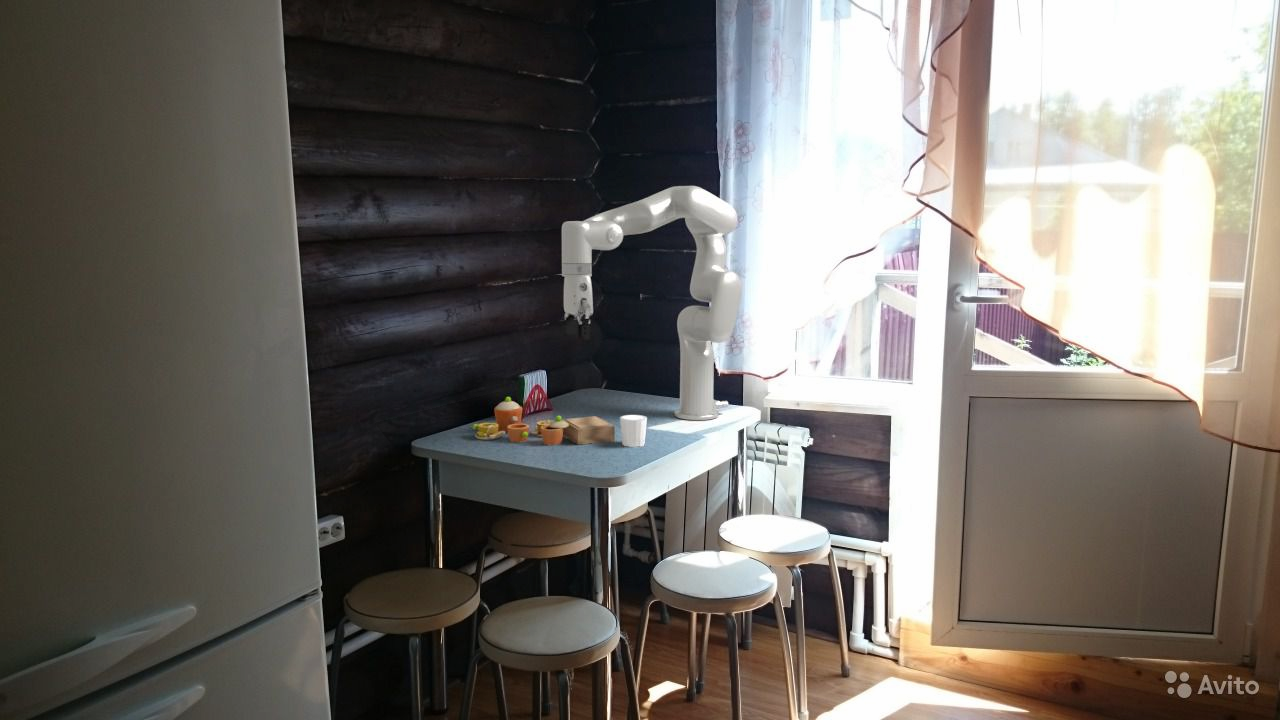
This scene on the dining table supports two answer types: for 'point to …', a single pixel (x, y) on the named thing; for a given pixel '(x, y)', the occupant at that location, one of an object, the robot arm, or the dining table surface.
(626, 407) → the dining table surface
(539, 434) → the toy tea set
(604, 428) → the riser
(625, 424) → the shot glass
